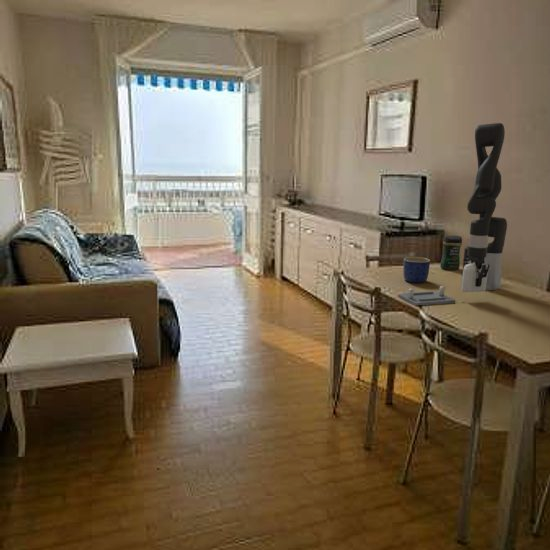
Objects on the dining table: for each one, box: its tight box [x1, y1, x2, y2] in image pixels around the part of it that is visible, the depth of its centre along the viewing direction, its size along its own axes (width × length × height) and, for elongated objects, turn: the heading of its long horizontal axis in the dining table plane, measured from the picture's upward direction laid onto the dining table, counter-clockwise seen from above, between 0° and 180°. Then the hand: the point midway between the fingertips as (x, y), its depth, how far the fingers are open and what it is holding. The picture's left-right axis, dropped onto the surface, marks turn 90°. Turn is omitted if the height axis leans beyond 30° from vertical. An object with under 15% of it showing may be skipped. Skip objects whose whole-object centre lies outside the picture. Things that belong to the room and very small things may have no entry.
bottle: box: [461, 237, 469, 277], centre depth 244 cm, size 7×7×20 cm
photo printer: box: [460, 263, 488, 293], centre depth 203 cm, size 10×4×12 cm, turn 99°
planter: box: [403, 256, 431, 284], centre depth 237 cm, size 12×12×11 cm
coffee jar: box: [439, 235, 463, 271], centre depth 262 cm, size 10×8×19 cm
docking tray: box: [397, 285, 456, 307], centre depth 206 cm, size 19×14×5 cm
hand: (473, 284), depth 204 cm, fingers closed on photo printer, 4 cm apart
